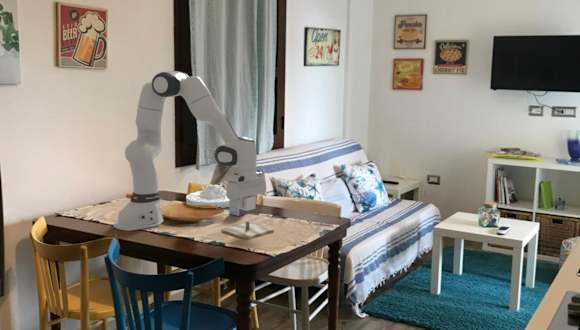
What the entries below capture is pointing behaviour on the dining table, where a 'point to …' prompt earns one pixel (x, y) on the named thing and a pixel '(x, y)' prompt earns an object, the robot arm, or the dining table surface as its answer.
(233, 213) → the supplement box
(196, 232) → the dining table surface
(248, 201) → the sleeve
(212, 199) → the cake
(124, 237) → the dining table surface
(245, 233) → the pin board
